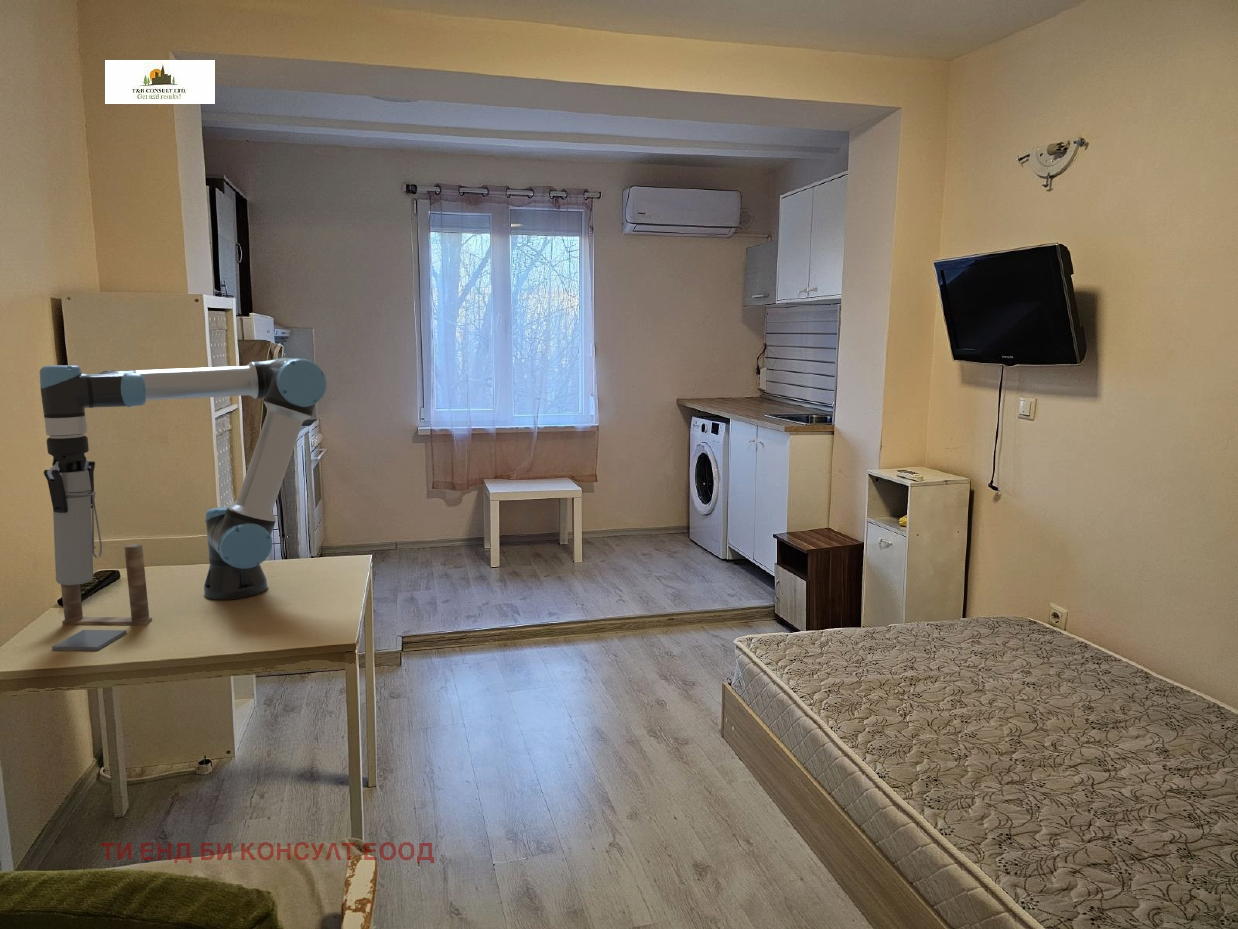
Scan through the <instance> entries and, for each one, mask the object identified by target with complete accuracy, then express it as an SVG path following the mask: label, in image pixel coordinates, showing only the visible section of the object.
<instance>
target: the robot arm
mask: <svg viewBox="0 0 1238 929" xmlns="http://www.w3.org/2000/svg"><path fill="white" fill-rule="evenodd" d="M39 386H40V395H41V401H42V402H41V403H42V410H43V411H42V412H43V417H44V427H45V428H44V429H45V434H46V436H49V437H47V438H46V449H47V454H48V455H50V456H52V467H50V468H49V469H44V471H43V475H44V477H45V478H46V481H47V485H48V490H49V495H50V500H51V505H52V511H53V510H54V512H57V513H66V512H68V506H67V500H66V495H65V490H64V485H63V480H62V477H61V475H62V473H68V472H76V471H85V470H88V471H89V477H90V484H91V490H90V491H91V492H95V475H94V472H95V467H96V462H95V461H93V460H92V461H91V460H90V461H89V460H87V457H86V455H85V454H86V453H88V452H89V450H90V448H89V438H88V436H87V435H86V434H87V433H88V428H87V419H86V418H87V417H86V412H85V411H86V410H85V409H88V408H89V409H91V408H92V409H93V408H120V407H125V408H126V407H127V408H131V407H137V406H138V407H139V406H144V405H145V404H146V401H149V402H150V401H167V400H185V399H203V398H222V397H240V396H250V397H252V398H253V399H264V400H263V404H264V405H265V407H266V409H267V412H266V416H265V417H264V421H263V424H262V428H261V430H260V432H259V436H258V437H257V441H256V444H255V448H254V451H253V453H252V456H251V459H250V462H249V465H248V468H247V471H246V474H245V477H244V479H243V482H242V485H241V489H240V491H239V493H238V497H237V499H236V501H235V502H234V503H232V504H230V505H228V506H220V507H214V508H210V509H208V510H207V511H206V512H205V520H204V522H205V523H206V536H207V548H208V549H207V550H208V559H209V562H208V563H209V567H208V571H207V575H206V578H205V582H204V586H203V592H204V597H205V598H207V599H210V600H211V599H212V600H221V601H223V600H224V601H225V600H227V601H228V600H237V599H243V598H249V597H252V596H255V595H259V594H261V593H263V592H265V591H266V590H267V588H268V582H267V581H268V580H267V578H266V575H265V573H264V571H263V568H262V566H261V564H262V563H263V562H264V561H266V560H267V558H268V557H269V556H270V554H271V553H272V548H273V538H272V534H273V532H274V528H275V524H276V522H277V518H276V516H275V513H273V511H274V507H275V505H276V503H277V502H276V501H277V499H278V495H279V493H280V490H281V487H282V484H283V481H284V478H285V475H286V472H287V469H288V467H289V464H290V460H291V458H292V454H293V452H294V449H295V446H296V443H297V440H298V438H299V434H300V431H301V428H302V426H303V423H304V422H305V421H307V420H308V419H311V418H312V416H313V413H314V411H315V407H316V404H317V403H319V402H320V401H321V399H322V398H323V397H324V395H325V393H326V390H327V378H326V375H325V373H324V371H323V370H322V368H321V367H320V366H319V365H318V364H317V363H315V362H314V361H312V360H309V359H308V358H302V357H292V356H289V357H287V356H286V357H280V358H274V359H269V360H262V361H261V360H260V361H250V362H249V363H248V364H247V365H234V366H233V365H232V366H214V367H213V366H212V367H210V366H209V367H207V366H206V367H187V368H184V367H183V368H182V367H181V368H162V369H161V368H160V369H159V368H158V369H136V370H114V369H113V370H111V369H109V370H104V371H102V372H99V373H94V374H93V373H92V374H91V373H83V372H82V370H81V367H80V366H79V365H75V364H74V365H71V364H70V365H69V364H68V365H67V364H66V365H61V364H60V365H58V364H57V365H44V366H42V367H41V369H39ZM87 494H91V493H87ZM90 496H91V495H90ZM91 510H92V498H91Z"/></svg>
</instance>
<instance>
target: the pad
mask: <svg viewBox="0 0 1238 929" xmlns="http://www.w3.org/2000/svg"><path fill="white" fill-rule="evenodd" d="M125 635H127V630H126V629H82V630H80V631H78V632H76V633H75V634H73V635H71V636H69V637H67V638H65V639H64V640H61V641H60V642H57V643H56V644H54V645H53V646H51V650H52V651H89V652H90V651H91V652H92V651H94V652H95V651H97V652H98V651H100V650H102V649H103V648H105V647H106V646H108V645H110V644H111V643H113V642H115V641H117V640H118V639H120V638H122V637H123V636H125Z"/></svg>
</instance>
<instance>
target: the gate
mask: <svg viewBox="0 0 1238 929" xmlns="http://www.w3.org/2000/svg"><path fill="white" fill-rule="evenodd" d="M143 547H144V546H143V544H140V543H133V544H129V545H126V546H124V557H125V566H126V567H125V568H126V575H127V576H126V577H127V586H128V587H127V588H128V597H129V607H130V616H131V617H130V616H129V617H126V616H125V617H121V616H115V617H114V616H113V617H109V616H84V611H83V604H82V596H81V594H82V593H81V587H80V585H81V584H75V585H63V584H60V589H61V598H62V606H63V616H64V620H62V621H61V622H62V625H75V626H77V625H80V626H81V625H83V626H84V625H85V626H88V625H89V626H90V625H91V626H146V625H147V624H149V623H150V622H152V621H153V617H150V610H149V602H148V592H147V591H148V590H147V579H146V569H145V560H144V548H143Z"/></svg>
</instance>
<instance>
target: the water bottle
mask: <svg viewBox="0 0 1238 929" xmlns="http://www.w3.org/2000/svg"><path fill="white" fill-rule="evenodd" d="M61 477H62V480H63V485H64V490H65V495H66V500H67V506H68V512H66V513H57V512H54V510H53V509H52V517H53V536H54V537H53V540H54V541H53V542H54V560H55V561H54V564H55V565H54V569H55V581H56V583H58V584H60V585H61V584H63V585H75V584H80V585H81V584H86V583H89V582H90V581H92V580H93V579H94V559H93V558H96V559H97V558H101V557H102V553H103V552H102V551H103V548H102V547H103V545H102V544H103V543H102V537H101V532H100V526H99V520H98V513H97V509H96V502H95V497H96V491H94V492H91V491H90V490H91V484H90V477H89V471H88V470H85V471H76V472H68V473H62V475H61ZM87 493H91V494H87ZM90 495H91V496H90ZM91 498H92V504H91ZM91 505H92V509H91ZM94 517H95V518H94ZM95 522H96V529H97V534H98V542H99V553H98V555H96V553H95Z"/></svg>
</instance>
